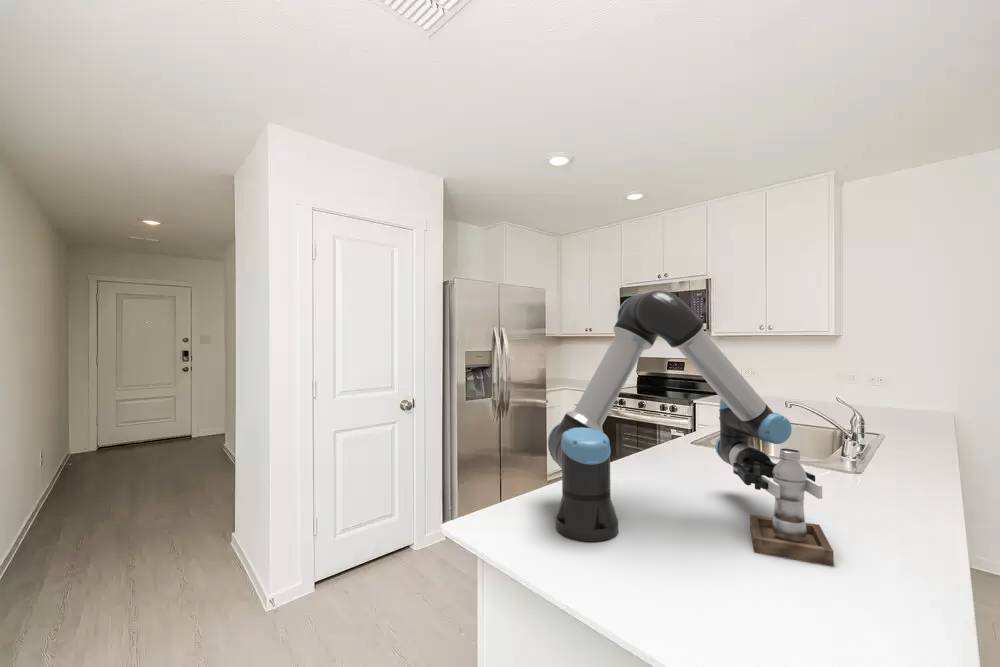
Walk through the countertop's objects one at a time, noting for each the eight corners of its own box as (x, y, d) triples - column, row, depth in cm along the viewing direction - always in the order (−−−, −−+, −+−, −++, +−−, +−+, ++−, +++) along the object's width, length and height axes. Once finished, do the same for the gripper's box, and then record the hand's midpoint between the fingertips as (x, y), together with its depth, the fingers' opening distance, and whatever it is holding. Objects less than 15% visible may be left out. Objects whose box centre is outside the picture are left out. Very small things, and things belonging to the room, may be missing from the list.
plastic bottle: (813, 547, 96) (815, 454, 96) (782, 546, 96) (783, 453, 97) (794, 533, 103) (795, 446, 103) (765, 533, 103) (766, 446, 103)
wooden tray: (754, 552, 96) (753, 538, 96) (749, 527, 109) (749, 514, 109) (833, 566, 90) (833, 551, 90) (819, 537, 103) (819, 524, 103)
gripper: (792, 476, 116) (851, 510, 94) (709, 475, 119) (748, 508, 96) (791, 447, 116) (850, 475, 94) (709, 446, 119) (747, 473, 96)
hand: (798, 491), depth 95 cm, fingers open, 8 cm apart
